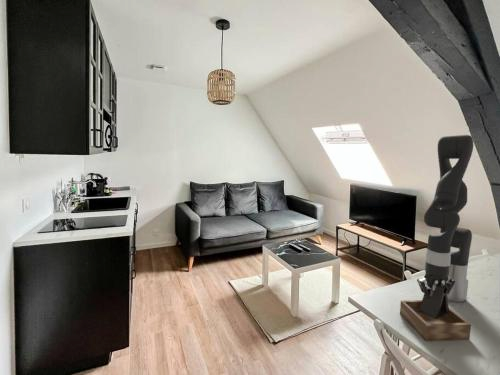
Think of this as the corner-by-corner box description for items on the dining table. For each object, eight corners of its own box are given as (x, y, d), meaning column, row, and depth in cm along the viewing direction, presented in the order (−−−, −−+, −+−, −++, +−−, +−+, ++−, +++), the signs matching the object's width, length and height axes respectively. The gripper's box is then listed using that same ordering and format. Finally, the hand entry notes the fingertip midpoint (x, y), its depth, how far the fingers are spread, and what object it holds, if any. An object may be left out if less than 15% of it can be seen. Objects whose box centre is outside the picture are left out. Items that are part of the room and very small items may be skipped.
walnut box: (437, 312, 111) (438, 299, 111) (469, 339, 96) (471, 324, 95) (399, 313, 111) (400, 300, 110) (426, 341, 95) (427, 326, 94)
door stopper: (435, 319, 98) (438, 289, 96) (419, 310, 103) (421, 282, 101) (449, 312, 101) (452, 283, 99) (433, 304, 107) (436, 276, 105)
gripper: (448, 256, 103) (444, 297, 106) (413, 257, 103) (410, 299, 106) (464, 265, 96) (459, 309, 99) (426, 266, 96) (422, 310, 98)
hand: (433, 303), depth 102 cm, fingers closed on door stopper, 2 cm apart
